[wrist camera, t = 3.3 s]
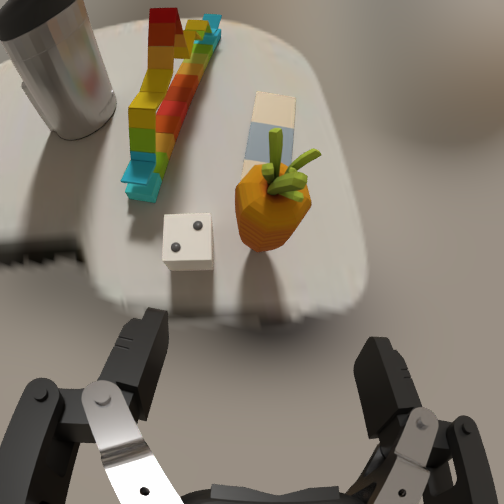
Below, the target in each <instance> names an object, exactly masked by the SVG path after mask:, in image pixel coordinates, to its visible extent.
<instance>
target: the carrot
mask: <svg viewBox="0 0 504 504" xmlns="http://www.w3.org/2000/svg"><path fill="white" fill-rule="evenodd" d="M282 148H283V133H282V129H281V128H273V129H271V130H270V131H269V157H270V163H266V164H259V165H254V166H253V167H252V169H251V170H250V171H249V172H248V173H247V174H246V176H245V177H244V178H243V179H242V180H241V182H240V183H239V184H238V185H237V186H236V189H235V212H236V218H237V224H238V229H239V235H240V238H241V240H242V242H243V243H244V244H245V245H247V246H248V247H250V248H251V249H253V250H254V251H256V252H262V251H269V250H274V249H276V248H279V247H280V246H282V245H283V244H284V243H285V242H286V241H287V240H288V239H289V238H290V236H291V235H292V234H293V232H294V231H295V230H296V228H297V227H298V225H299V224H300V222H301V221H302V219H303V218H304V216H305V215H306V213H307V212H308V210H309V209H310V207H311V199H310V195H309V191H308V188H307V177H308V176H307V175H305V174H304V173H301V172H297V170H299V169H300V168H301V167H303V166H304V165H306V164H307V163H309V162H310V161H312V160H314V159H316V158H318V157H319V156H321V153H320V152H319V151H318V150H316V149H314V148H313V149H311V150H309V151H307V152H305V153H303V154H302V155H300V156H299V157H298V158H297V159H296V160H295V161H293V162H292V163H291V164H290V165H289V167H288V166H286V165H285V164H283V163H282V162H281V157H282Z"/></svg>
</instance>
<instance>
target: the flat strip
mask: <svg viewBox="0 0 504 504" xmlns="http://www.w3.org/2000/svg"><path fill="white" fill-rule="evenodd" d="M295 103H296V98H294V97H289V96H284V95H278V94H272V93H266V92H260V91H257V93H256V98H255V103H254V109H253V114H252V120H251V125H250V130H249V136H248V142H247V147H246V153H245V159H244V164H243V170H242V176H241V180H242V179H243V178H244V177H245V176H246V174H247V173H248V172H249V171H250V170H251V169H252V167H253V166H254V165H259V164H266V163H270V157H269V131H270V130H271V129H273V128H281V129H282V133H283V148H282V157H281V162H282V163H283V164H285V165H286V166H288V167H289V165H290V164H291V159H292V146H293V133H294V118H295Z"/></svg>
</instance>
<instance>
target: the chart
mask: <svg viewBox="0 0 504 504" xmlns="http://www.w3.org/2000/svg"><path fill="white" fill-rule="evenodd" d="M149 15H150V16H149V33H148V69H147V72H146V75H145V77H144V80H143V83H142V86H141V89H140V92H139V93H138V94H137V96H136V97H135V99H134V100H133V101H132V103H131V104H130V106H129V107H128V108H129V109H128V118H129V139H130V155H131V160H130V162H129V164H128V166H127V168H126V171H125V173H124V175H123V177H122V179H121V182H122V183H128V184H127V187H126V190H125V193H126V194H127V196H128V197H129V199H133V200H140V201H146V202H153V203H155V202H156V199H157V196H158V193H159V189H160V186H161V183H162V180H163V177H164V174H165V171H166V168H167V165H168V162H169V159H170V156H171V154H172V151H173V148H174V145H175V142H176V140H177V137H178V134H179V132H180V129H181V126H182V124H183V121H184V119H185V116H186V114H187V111H188V109H189V106H190V104H191V101H192V99H193V96H194V94H195V92H196V89H197V87H198V85H199V82H200V80H201V78H202V76H203V73H204V71H205V69H206V67H207V65H208V62H209V60H210V58H211V56H212V54H213V52H214V50H215V48H216V46H217V44H218V41H219V39H220V37H221V29H218V27H219V23H220V20H221V17H222V15H217V14H204V17H203V20H188V21H187V24H186V27H185V30H183V29H182V25H181V21H180V18H179V14H178V10H177V8H151V9H150V14H149ZM194 40H195V41H194ZM174 58H178V59H184V60H183V62H182V64H181V66H180V68H179V70H178V71H177V73H176V75H175V77H174V79H173V81H172V83H171V85H170V87H169V84H170V81H171V78H172V75H173V63H174ZM168 87H169V89H168ZM167 90H168V91H167ZM161 102H162V103H161ZM160 104H161V105H160ZM159 105H160V107H159ZM158 107H159V109H158ZM157 109H158V112H157V114H156V112H155V111H156V110H157Z"/></svg>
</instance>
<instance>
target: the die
mask: <svg viewBox="0 0 504 504" xmlns="http://www.w3.org/2000/svg"><path fill="white" fill-rule="evenodd" d="M162 261H163V262H164V263H165V265H166V266H167V267H168V268H169V269H170V271H190V270H213V226H212V216H211V213H193V214H165V215H164V228H163V255H162Z"/></svg>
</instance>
